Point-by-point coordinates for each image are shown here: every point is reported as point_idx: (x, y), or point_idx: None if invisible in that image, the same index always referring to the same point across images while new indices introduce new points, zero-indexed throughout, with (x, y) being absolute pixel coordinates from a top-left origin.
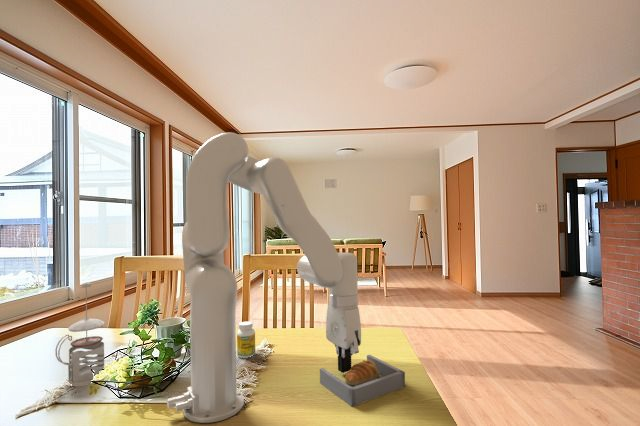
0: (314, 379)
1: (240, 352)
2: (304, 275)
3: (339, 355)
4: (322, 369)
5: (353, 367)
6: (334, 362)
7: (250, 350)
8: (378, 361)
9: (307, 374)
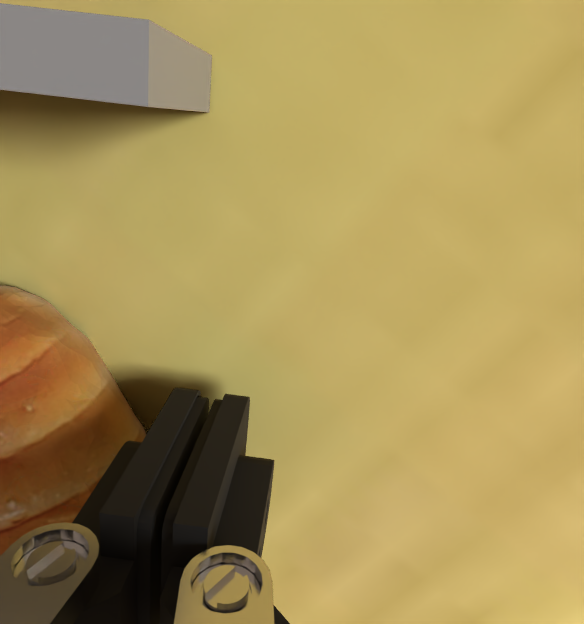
0: (345, 65)
1: None
2: None
3: (193, 548)
4: (97, 49)
5: (38, 502)
6: (513, 530)
7: None
8: None
9: (533, 82)
